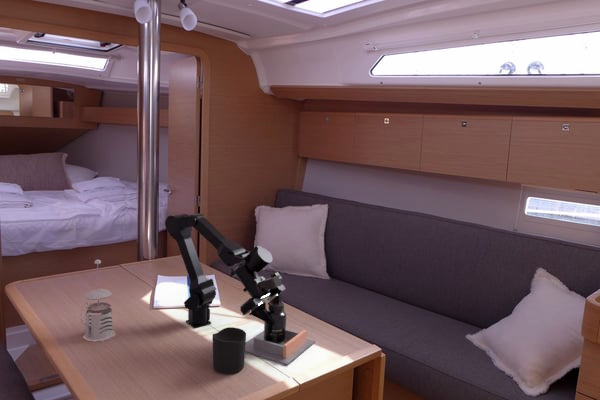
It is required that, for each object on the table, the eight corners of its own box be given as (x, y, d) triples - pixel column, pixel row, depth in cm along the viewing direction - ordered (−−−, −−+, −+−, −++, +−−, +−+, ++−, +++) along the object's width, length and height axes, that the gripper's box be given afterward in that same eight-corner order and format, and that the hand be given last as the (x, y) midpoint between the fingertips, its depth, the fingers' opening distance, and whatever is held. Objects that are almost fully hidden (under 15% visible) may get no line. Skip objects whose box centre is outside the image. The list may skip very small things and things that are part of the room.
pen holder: (247, 373, 133) (248, 340, 132) (213, 377, 130) (214, 343, 129) (242, 358, 142) (243, 326, 141) (210, 361, 139) (210, 328, 138)
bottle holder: (236, 350, 147) (237, 335, 146) (267, 329, 163) (268, 316, 162) (287, 365, 138) (288, 350, 138) (315, 342, 154) (315, 329, 154)
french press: (122, 332, 156) (121, 257, 152) (96, 347, 145) (94, 267, 141) (97, 326, 159) (96, 254, 155) (70, 341, 148) (68, 263, 144)
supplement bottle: (275, 346, 146) (276, 309, 144) (259, 339, 150) (260, 303, 148) (289, 339, 151) (291, 303, 149) (273, 333, 155) (275, 298, 154)
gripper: (249, 273, 141) (280, 317, 137) (281, 259, 157) (310, 298, 154) (227, 293, 146) (256, 336, 142) (260, 278, 162) (287, 316, 159)
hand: (279, 320), depth 149 cm, fingers closed on supplement bottle, 7 cm apart
